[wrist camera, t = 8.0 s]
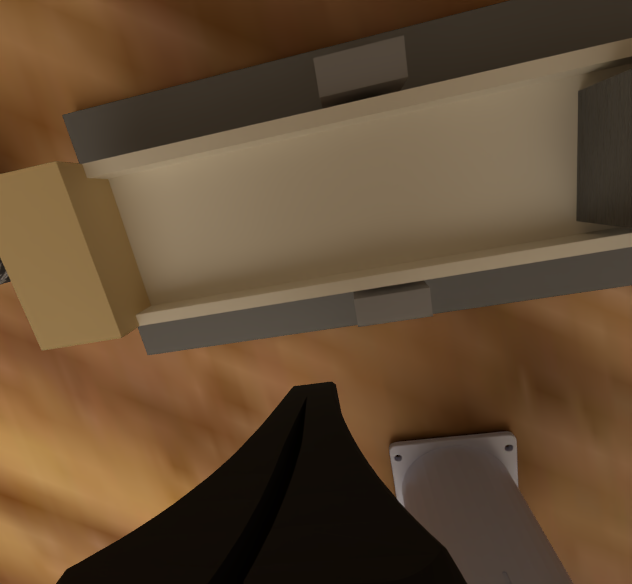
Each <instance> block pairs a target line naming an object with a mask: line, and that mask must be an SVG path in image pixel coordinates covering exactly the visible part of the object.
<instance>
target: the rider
mask: <svg viewBox="0 0 632 584" xmlns="http://www.w3.org/2000/svg"><path fill="white" fill-rule="evenodd" d="M576 221H579V222H587V223H595V224H602V225H610V226H618V227H626V228H632V69H629V70H627V71H625V72H622V73H620V74H617V75H615V76H613V77H610V78H608V79H606V80H603V81H601V82H598V83H596V84H594V85H591V86H589V87H587V88H584V89H582V90H580V91H578V136H577V208H576Z"/></svg>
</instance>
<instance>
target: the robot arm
mask: <svg viewBox="0 0 632 584" xmlns="http://www.w3.org/2000/svg"><path fill="white" fill-rule="evenodd" d="M506 445H509V446H508V447H505V446H506ZM389 453H390V459H391V465H392V472H393V478H394V484H395V490H396V497H397V499H396V497H395V496H394V495H393V494H392V493H391V491H390V490H389V489H388V488H387V487H386V485H385V484H384V483H383V482H382V481H381V479H380V478H379V477H378V476H377V474H376V473H375V471H374V470H373V469H372V467H371V466H370V464H369V463H368V462H367V460H366V458H365V457H364V455H363V454H362V452H361V451H360V449H359V447H358V446H357V444H356V442H355V441H354V439H353V437H352V435H351V433H350V431H349V429H348V427H347V425H346V423H345V421H344V418H343V416H342V414H341V409H340V404H339V398H338V393H337V388H336V384H334V383H333V382H325V383H317V384H309V385H301V386H294V387H293V388H292V389H291V390H290V391H289V392H288V394H287V395H286V396H285V397H284V399H283V400H282V401H281V402H280V404H279V405H278V406H277V407H276V409H275V410H274V411H273V412H272V413H271V415H270V416H269V417H268V418H267V419H266V421H265V422H264V423H263V424H262V425H261V426H260V428H259V429H258V430H257V431H256V432H255V433H254V434H253V435H252V436H251V437H250V438H249V439H248V440H247V441H246V443H245V444H244V445H243V446H242V447H241V448H240V449H239V450H238V451H237V452H236V453H235V454H234V455H233V456H232V457H231V458H230V459H228V460H227V461H226V462H225V463H224V464H223V465H222V466H221V467H220V468H218V469H217V470H216V471H215V472H214V473H213V474H212V475H210V476H209V477H208V478H207V479H206V480H204V481H203V482H202V483H200V484H199V485H198V486H196V487H195V488H194V489H193V490H191V491H190V492H189V493H187V494H186V495H185V496H184V497H182V498H181V499H180V500H178V501H177V502H176V503H174V504H173V505H172V506H170V507H169V508H167V509H166V510H164V511H163V512H161V513H160V514H159V515H157V516H156V517H154V518H153V519H151V520H150V521H148V522H146V523H145V524H143V525H142V526H140V527H139V528H137V529H136V530H134V531H132V532H131V533H129V534H128V535H126V536H124V537H123V538H121V539H119V540H118V541H116V542H114V543H112V544H111V545H109V546H107V547H105V548H104V549H102V550H100V551H98V552H97V553H95V554H93V555H92V556H90V557H88V558H86V559H85V560H83V561H81V562H79V563H77V564H76V565H74V566H72V567H70V568H68V569H67V570H66V571H65V572H64V574H63V575H62V576H61V578H60V579H59V580H58V582H57V583H56V584H573V582H572V580H571V578H570V577H569V575H568V573H567V572H566V570H565V568H564V566H563V565H562V563H561V561H560V559H559V558H558V556H557V554H556V553H555V551H554V549H553V547H552V546H551V544H550V542H549V540H548V539H547V537H546V535H545V534H544V532H543V530H542V528H541V527H540V525H539V523H538V521H537V520H536V518H535V516H534V515H533V513H532V511H531V509H530V508H529V506H528V504H527V503H526V501H525V499H524V497H523V496H522V494H521V492H520V490H519V489H518V465H517V440H516V437H515V436H514V434H513V433H511V432H509V431H504V432H493V433H483V434H473V435H463V436H453V437H442V438H432V439H422V440H412V441H401V442H394V443H392V444H390V446H389ZM396 455H400V456H399V457H395V456H396Z"/></svg>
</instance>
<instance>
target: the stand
mask: <svg viewBox="0 0 632 584" xmlns="http://www.w3.org/2000/svg"><path fill="white" fill-rule="evenodd" d="M629 38H632V0H510V1H506V2H502V3H498V4H494V5H490V6H487V7H483V8H479V9H475V10H471V11H467V12H463V13H459V14H455V15H451V16H447V17H444V18H440V19H436V20H432V21H428V22H424V23H420V24H416V25H412V26H408V27H404V28H401V29H397V30H393V31H389V32H385V33H381V34H377V35H373V36H369V37H365V38H361V39H358V40H354V41H350V42H346V43H342V44H338V45H334V46H330V47H326V48H322V49H318V50H315V51H311V52H307V53H303V54H299V55H295V56H291V57H287V58H283V59H279V60H275V61H272V62H268V63H264V64H260V65H256V66H252V67H248V68H244V69H240V70H236V71H232V72H229V73H225V74H221V75H217V76H213V77H209V78H205V79H201V80H197V81H193V82H189V83H186V84H182V85H178V86H174V87H170V88H166V89H162V90H158V91H154V92H150V93H146V94H143V95H139V96H135V97H131V98H127V99H123V100H119V101H115V102H111V103H107V104H103V105H100V106H96V107H92V108H88V109H84V110H80V111H76V112H72V113H68V114H64V115H62V116H63V119H64V122H65V124H66V127H67V130H68V133H69V136H70V138H71V141H72V144H73V147H74V150H75V152H76V155H77V158H78V161H79V164H84V163H88V162H93V161H97V160H101V159H106V158H110V157H115V156H119V155H123V154H128V153H132V152H136V151H141V150H145V149H149V148H154V147H158V146H162V145H167V144H171V143H176V142H180V141H184V140H189V139H193V138H197V137H202V136H206V135H210V134H215V133H219V132H223V131H228V130H232V129H237V128H241V127H245V126H250V125H254V124H258V123H263V122H267V121H271V120H276V119H280V118H284V117H289V116H293V115H298V114H302V113H306V112H311V111H315V110H319V109H324V108H328V107H332V106H337V105H341V104H345V103H350V102H354V101H359V100H363V99H367V98H372V97H376V96H380V95H385V94H389V93H393V92H398V91H402V90H406V89H411V88H415V87H420V86H424V85H428V84H433V83H437V82H441V81H446V80H450V79H454V78H459V77H463V76H467V75H472V74H476V73H481V72H485V71H489V70H494V69H498V68H502V67H507V66H511V65H515V64H520V63H524V62H528V61H533V60H537V59H542V58H546V57H550V56H555V55H559V54H563V53H568V52H572V51H576V50H581V49H585V48H589V47H594V46H598V45H603V44H607V43H611V42H616V41H620V40H624V39H629ZM629 285H632V247H628V248H621V249H615V250H609V251H603V252H596V253H590V254H584V255H578V256H572V257H565V258H559V259H553V260H547V261H541V262H534V263H528V264H522V265H516V266H509V267H503V268H497V269H491V270H485V271H478V272H472V273H466V274H460V275H454V276H447V277H441V278H435V279H429V280H422V281H416V282H410V283H404V284H398V285H391V286H385V287H379V288H373V289H367V290H360V291H354V292H348V293H342V294H336V295H329V296H323V297H317V298H311V299H304V300H298V301H292V302H286V303H280V304H273V305H267V306H261V307H255V308H249V309H242V310H236V311H230V312H224V313H217V314H211V315H205V316H199V317H193V318H186V319H180V320H174V321H168V322H162V323H155V324H149V325H143V326H139V327H138V329H139V332H140V335H141V338H142V341H143V343H144V346H145V349H146V352H147V355H153V354H160V353H166V352H173V351H180V350H187V349H194V348H201V347H208V346H215V345H222V344H229V343H235V342H242V341H249V340H256V339H263V338H270V337H277V336H284V335H291V334H298V333H305V332H311V331H318V330H325V329H332V328H339V327H346V326H353V325H358V327H361V326H368V325H375V324H382V323H388V322H395V321H402V320H409V319H416V318H423V317H430V316H433V314H436V313H443V312H450V311H456V310H463V309H470V308H477V307H484V306H491V305H498V304H505V303H512V302H519V301H526V300H532V299H539V298H546V297H553V296H560V295H567V294H574V293H581V292H588V291H595V290H602V289H608V288H615V287H622V286H629Z"/></svg>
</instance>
